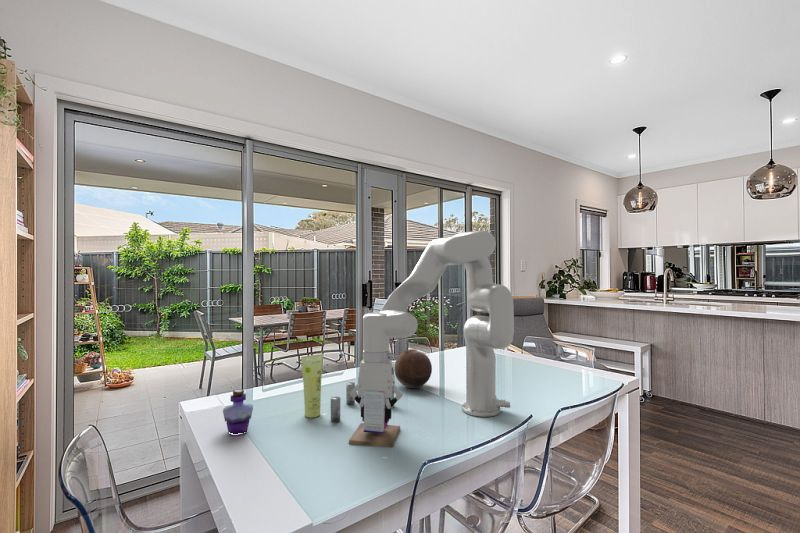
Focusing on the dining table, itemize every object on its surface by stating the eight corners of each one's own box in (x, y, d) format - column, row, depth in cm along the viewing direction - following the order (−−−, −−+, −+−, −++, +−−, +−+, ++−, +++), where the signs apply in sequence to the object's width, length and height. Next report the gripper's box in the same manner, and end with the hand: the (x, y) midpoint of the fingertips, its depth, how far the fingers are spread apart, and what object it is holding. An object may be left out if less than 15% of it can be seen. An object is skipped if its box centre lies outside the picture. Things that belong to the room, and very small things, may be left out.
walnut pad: (400, 429, 117) (400, 425, 117) (392, 447, 105) (392, 443, 105) (360, 426, 119) (360, 423, 119) (348, 443, 107) (348, 440, 107)
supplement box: (383, 434, 108) (383, 392, 109) (363, 432, 110) (363, 391, 110) (388, 425, 114) (388, 386, 114) (368, 424, 115) (368, 385, 115)
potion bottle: (230, 425, 119) (230, 386, 119) (258, 426, 119) (258, 386, 119) (216, 438, 111) (216, 395, 111) (246, 438, 110) (246, 395, 110)
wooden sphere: (439, 388, 157) (439, 350, 157) (408, 395, 148) (408, 355, 148) (416, 379, 169) (416, 344, 169) (387, 385, 160) (387, 348, 161)
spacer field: (394, 404, 138) (394, 384, 138) (383, 425, 119) (383, 402, 119) (347, 401, 141) (347, 382, 141) (329, 422, 122) (329, 399, 122)
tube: (314, 419, 124) (314, 357, 124) (300, 417, 126) (300, 356, 126) (323, 413, 130) (323, 353, 130) (309, 411, 131) (309, 352, 131)
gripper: (408, 354, 114) (408, 417, 114) (350, 352, 117) (350, 413, 117) (403, 360, 107) (403, 427, 107) (342, 358, 110) (342, 423, 110)
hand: (376, 419), depth 112 cm, fingers closed on supplement box, 5 cm apart
